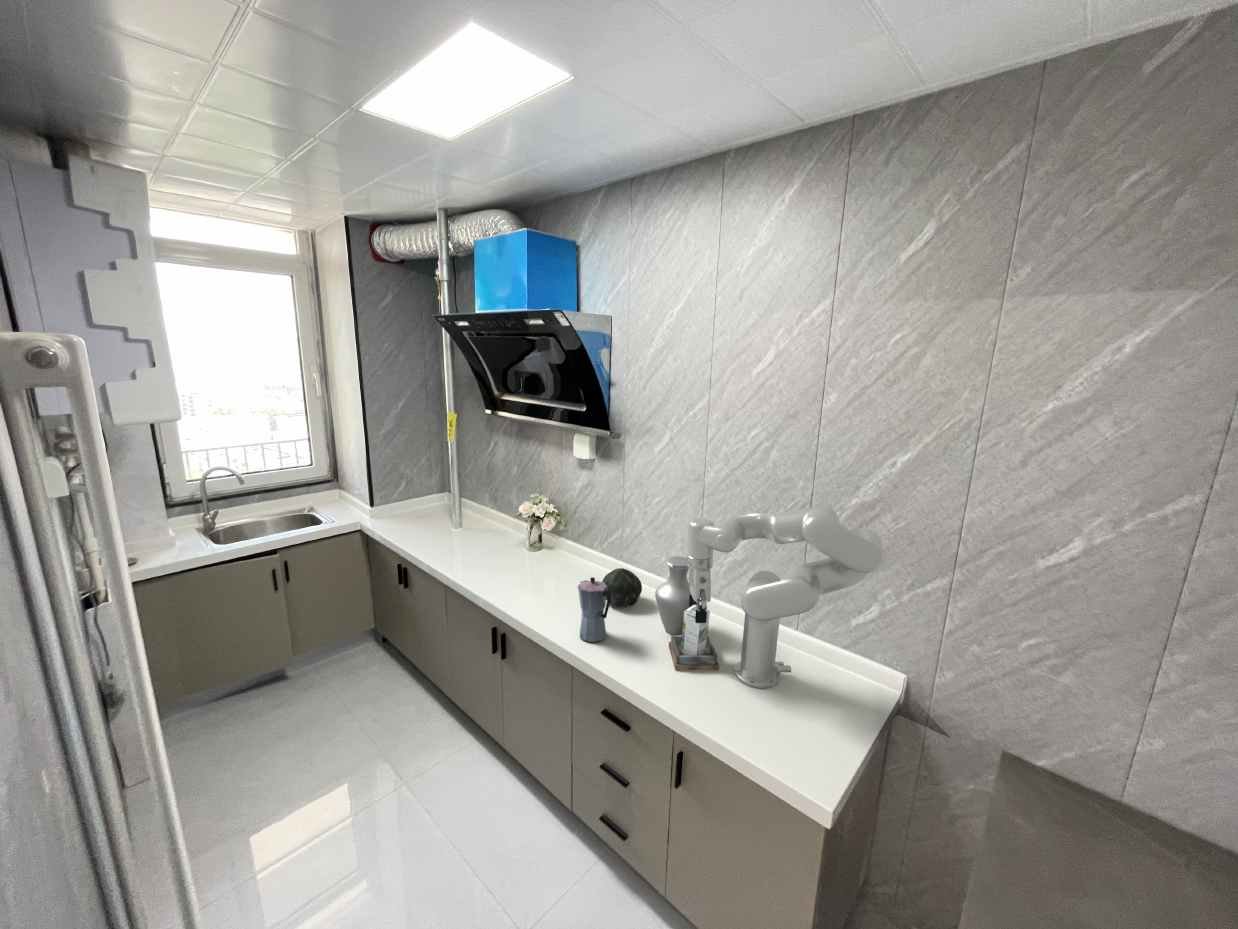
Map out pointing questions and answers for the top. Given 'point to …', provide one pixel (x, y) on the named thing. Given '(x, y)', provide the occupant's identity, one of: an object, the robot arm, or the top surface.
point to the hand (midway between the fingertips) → (697, 614)
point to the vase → (674, 596)
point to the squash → (622, 587)
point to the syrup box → (694, 634)
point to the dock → (692, 662)
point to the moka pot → (593, 609)
